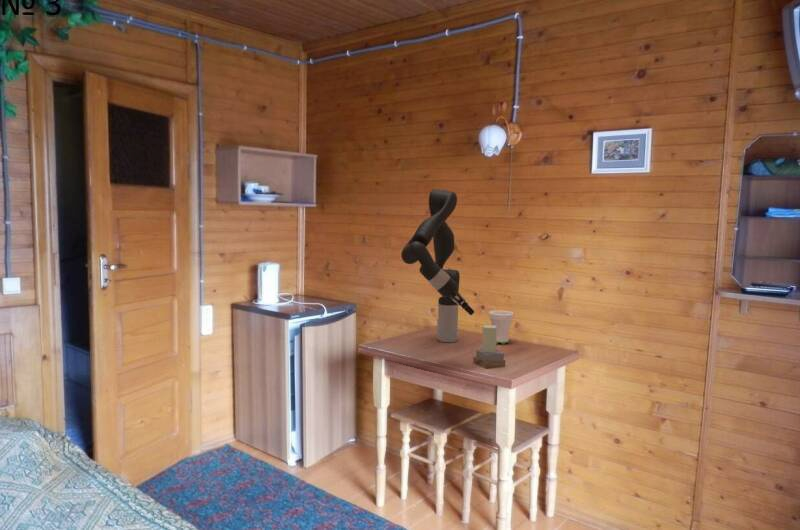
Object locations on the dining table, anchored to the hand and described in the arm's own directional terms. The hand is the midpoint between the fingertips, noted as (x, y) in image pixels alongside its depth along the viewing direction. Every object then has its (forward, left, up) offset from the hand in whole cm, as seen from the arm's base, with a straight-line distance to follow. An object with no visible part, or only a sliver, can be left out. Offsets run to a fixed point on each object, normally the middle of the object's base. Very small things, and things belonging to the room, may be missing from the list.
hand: (470, 311), depth 228 cm
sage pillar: (+3, +7, -16) cm, 18 cm away
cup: (-24, +34, -22) cm, 47 cm away
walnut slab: (+4, +7, -22) cm, 23 cm away
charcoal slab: (+4, +7, -19) cm, 21 cm away
